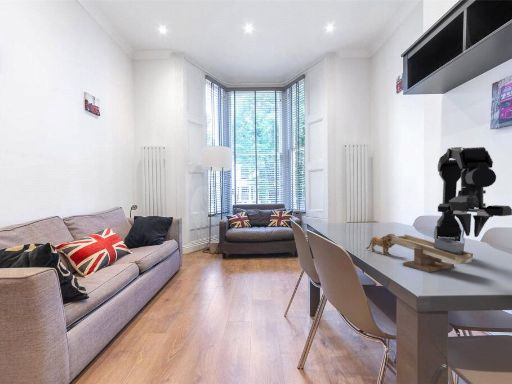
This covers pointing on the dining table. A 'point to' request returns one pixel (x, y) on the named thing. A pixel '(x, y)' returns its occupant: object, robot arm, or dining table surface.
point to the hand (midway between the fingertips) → (471, 236)
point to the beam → (430, 249)
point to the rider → (449, 246)
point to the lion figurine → (382, 243)
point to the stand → (426, 262)
